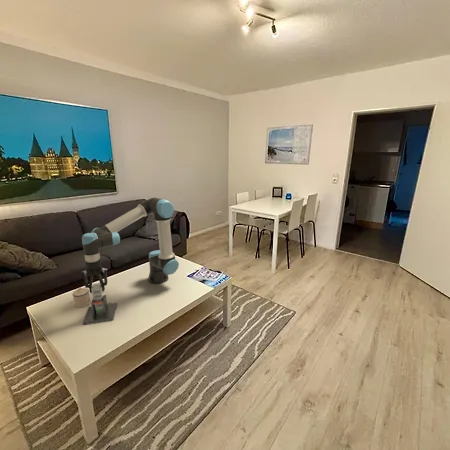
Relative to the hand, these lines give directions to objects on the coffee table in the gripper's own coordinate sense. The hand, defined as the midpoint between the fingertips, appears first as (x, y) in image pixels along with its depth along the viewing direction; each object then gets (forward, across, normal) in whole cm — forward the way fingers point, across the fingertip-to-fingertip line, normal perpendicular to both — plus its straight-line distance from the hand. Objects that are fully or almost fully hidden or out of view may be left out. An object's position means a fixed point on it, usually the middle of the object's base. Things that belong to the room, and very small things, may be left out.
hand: (98, 296), depth 147 cm
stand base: (+12, 0, 0) cm, 12 cm away
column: (+11, 0, 0) cm, 11 cm away
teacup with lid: (+12, -14, +16) cm, 25 cm away
